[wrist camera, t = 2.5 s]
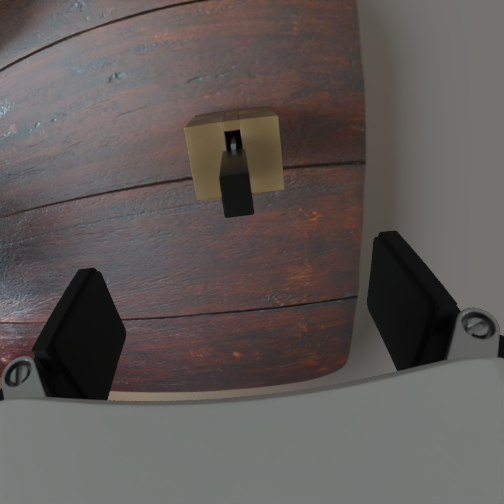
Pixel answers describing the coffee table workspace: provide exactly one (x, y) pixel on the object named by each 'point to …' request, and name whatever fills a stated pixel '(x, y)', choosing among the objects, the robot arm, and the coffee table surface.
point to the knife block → (217, 140)
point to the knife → (235, 181)
